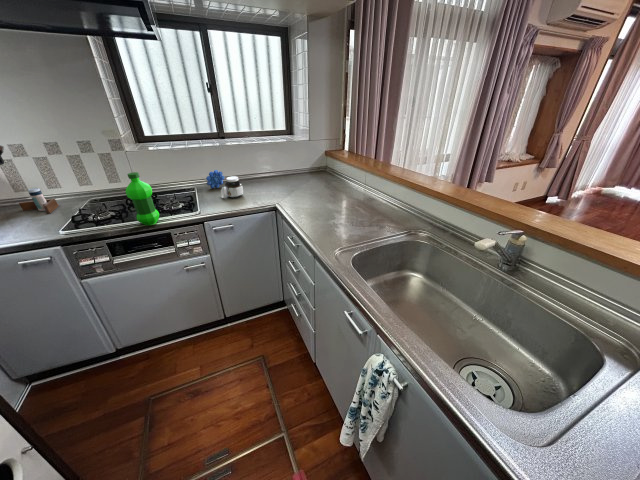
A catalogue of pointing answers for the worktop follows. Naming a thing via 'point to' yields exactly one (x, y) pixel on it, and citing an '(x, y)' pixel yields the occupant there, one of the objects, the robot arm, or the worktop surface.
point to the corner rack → (48, 207)
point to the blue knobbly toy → (215, 179)
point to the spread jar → (232, 188)
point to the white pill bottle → (38, 198)
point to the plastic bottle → (142, 200)
